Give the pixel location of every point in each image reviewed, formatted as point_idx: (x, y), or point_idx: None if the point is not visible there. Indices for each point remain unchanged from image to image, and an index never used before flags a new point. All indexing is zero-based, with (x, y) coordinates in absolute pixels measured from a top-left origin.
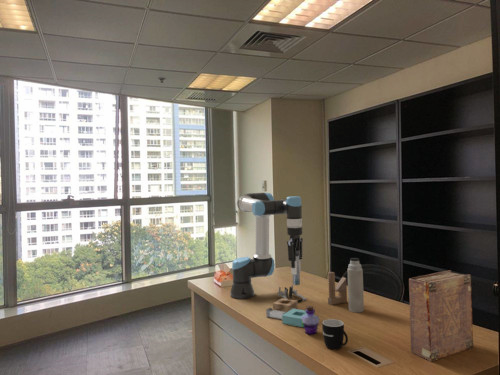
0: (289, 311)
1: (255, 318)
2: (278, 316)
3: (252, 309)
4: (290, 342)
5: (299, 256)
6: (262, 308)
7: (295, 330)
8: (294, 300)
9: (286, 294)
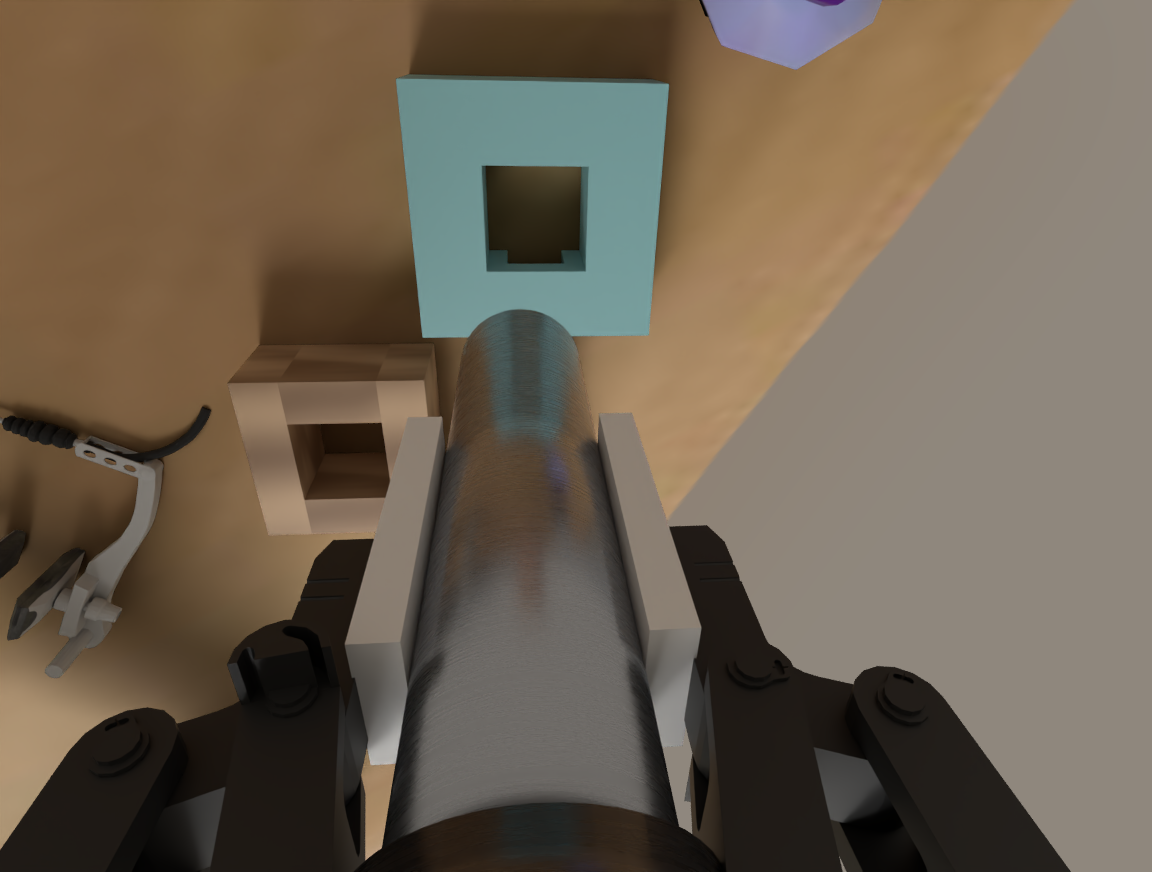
0: None
1: None
2: None
3: None
4: (1013, 48)
5: (337, 764)
6: None
7: (745, 132)
8: (242, 413)
9: (61, 576)
